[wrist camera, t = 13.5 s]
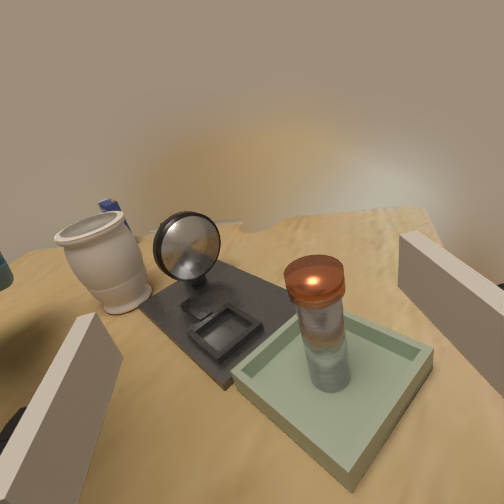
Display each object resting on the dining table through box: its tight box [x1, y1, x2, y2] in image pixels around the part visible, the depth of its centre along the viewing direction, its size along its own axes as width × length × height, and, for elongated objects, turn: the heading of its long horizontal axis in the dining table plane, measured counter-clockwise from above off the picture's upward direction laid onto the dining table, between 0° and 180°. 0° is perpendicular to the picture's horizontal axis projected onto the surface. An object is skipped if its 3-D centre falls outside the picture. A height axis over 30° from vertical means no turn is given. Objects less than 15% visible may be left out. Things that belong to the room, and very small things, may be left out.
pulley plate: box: [138, 211, 297, 391], centre depth 43 cm, size 24×16×14 cm, turn 42°
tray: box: [230, 310, 434, 493], centre depth 31 cm, size 14×14×3 cm
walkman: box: [97, 198, 131, 232], centre depth 75 cm, size 8×3×12 cm, turn 41°
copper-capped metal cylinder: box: [284, 255, 351, 393], centre depth 28 cm, size 5×5×13 cm
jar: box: [54, 211, 152, 314], centre depth 51 cm, size 11×10×15 cm
